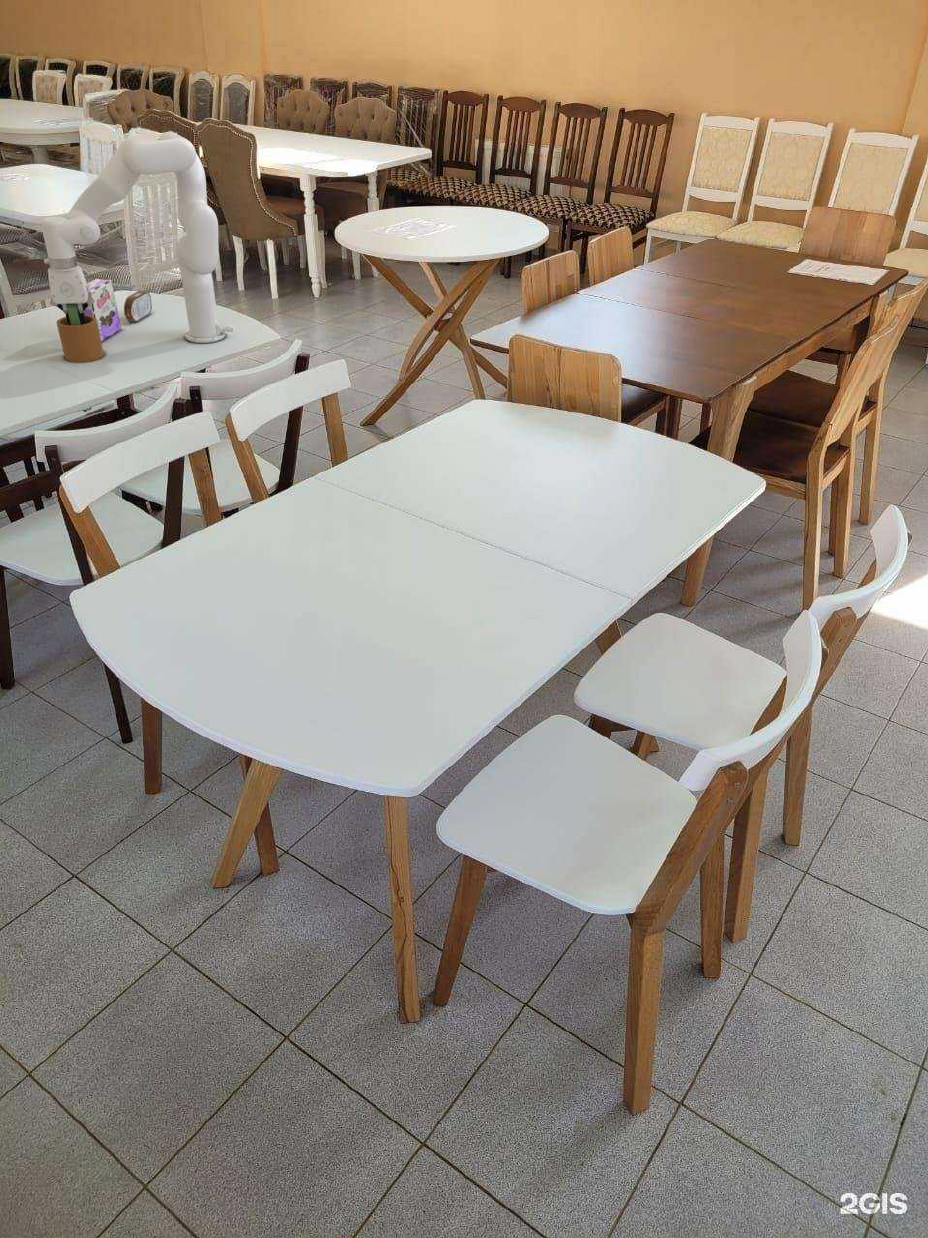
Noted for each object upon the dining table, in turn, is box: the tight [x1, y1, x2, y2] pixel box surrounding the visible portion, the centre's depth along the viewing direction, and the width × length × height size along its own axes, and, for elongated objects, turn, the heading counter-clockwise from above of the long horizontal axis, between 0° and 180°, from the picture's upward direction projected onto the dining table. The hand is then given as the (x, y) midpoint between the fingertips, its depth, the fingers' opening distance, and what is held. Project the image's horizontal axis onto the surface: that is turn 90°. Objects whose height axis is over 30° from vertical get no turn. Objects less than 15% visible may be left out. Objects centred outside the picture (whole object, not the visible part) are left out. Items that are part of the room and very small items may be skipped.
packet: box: [66, 304, 81, 326], centre depth 277 cm, size 3×6×8 cm, turn 10°
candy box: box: [83, 278, 122, 342], centre depth 295 cm, size 14×6×16 cm, turn 168°
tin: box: [123, 290, 153, 323], centre depth 312 cm, size 15×3×8 cm, turn 169°
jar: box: [56, 315, 105, 363], centre depth 281 cm, size 11×11×11 cm
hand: (77, 324), depth 278 cm, fingers closed on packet, 2 cm apart
